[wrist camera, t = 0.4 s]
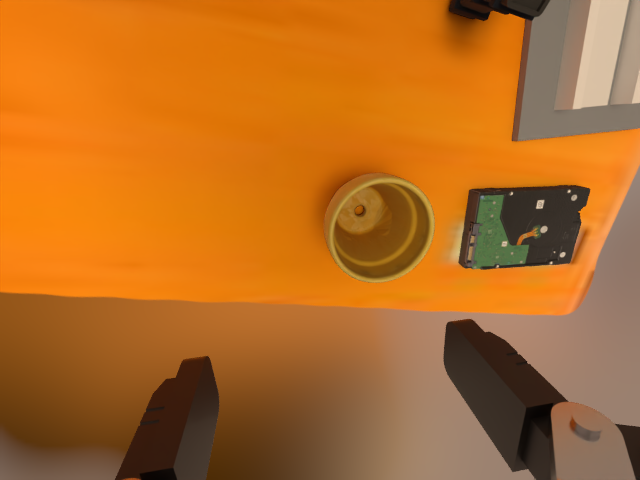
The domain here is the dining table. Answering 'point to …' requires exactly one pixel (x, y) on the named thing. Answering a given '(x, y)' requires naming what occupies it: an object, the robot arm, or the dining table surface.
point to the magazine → (498, 8)
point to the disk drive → (521, 226)
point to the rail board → (579, 70)
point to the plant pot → (378, 227)
